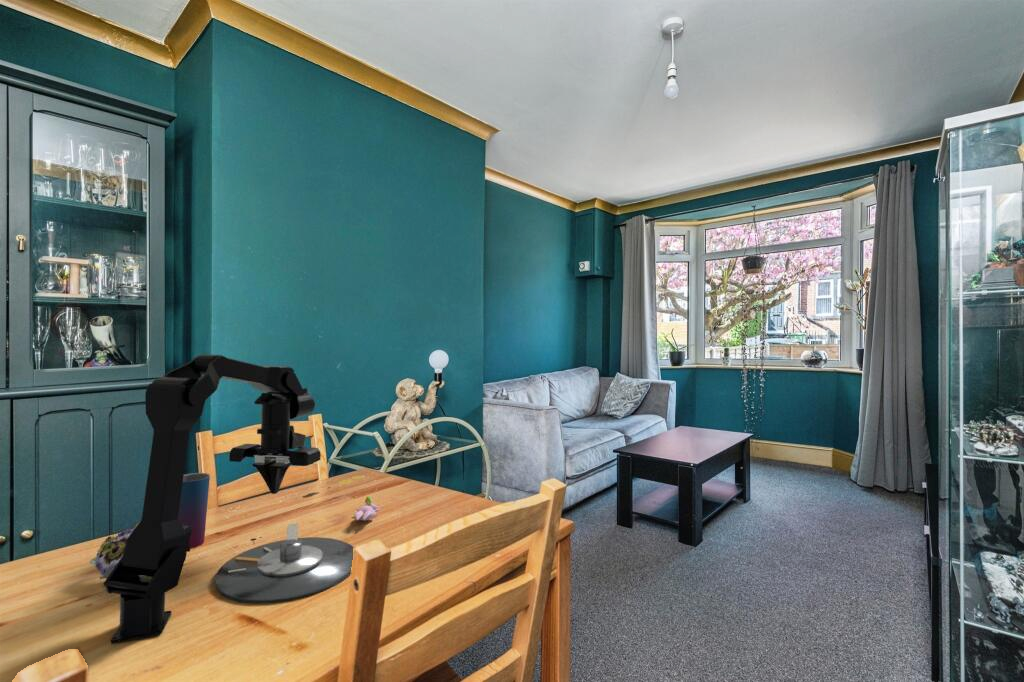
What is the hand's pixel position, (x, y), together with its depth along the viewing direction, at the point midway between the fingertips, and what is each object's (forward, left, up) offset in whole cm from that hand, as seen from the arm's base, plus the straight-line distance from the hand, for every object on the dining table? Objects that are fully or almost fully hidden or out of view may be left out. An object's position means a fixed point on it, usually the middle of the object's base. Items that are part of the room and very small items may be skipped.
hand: (274, 493), depth 108 cm
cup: (+8, +17, -12) cm, 23 cm away
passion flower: (-5, +24, -12) cm, 28 cm away
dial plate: (-12, -4, -12) cm, 17 cm away
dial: (-9, -4, -11) cm, 15 cm away
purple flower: (+11, -21, -13) cm, 27 cm away
